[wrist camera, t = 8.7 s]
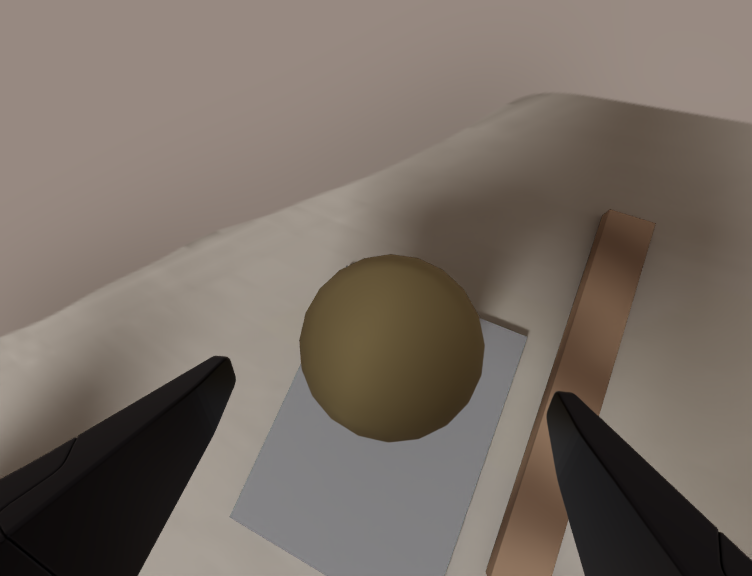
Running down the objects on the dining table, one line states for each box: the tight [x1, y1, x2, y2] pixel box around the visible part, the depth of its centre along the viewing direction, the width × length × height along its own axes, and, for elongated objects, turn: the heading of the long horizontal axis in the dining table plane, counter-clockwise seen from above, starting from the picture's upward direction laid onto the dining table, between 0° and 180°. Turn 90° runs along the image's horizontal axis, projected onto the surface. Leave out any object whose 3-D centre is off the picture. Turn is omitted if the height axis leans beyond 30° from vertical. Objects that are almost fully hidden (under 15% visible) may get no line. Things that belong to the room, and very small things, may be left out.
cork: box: [299, 254, 485, 443], centre depth 13 cm, size 6×6×11 cm
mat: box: [230, 266, 527, 576], centre depth 18 cm, size 15×11×1 cm
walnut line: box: [486, 209, 656, 576], centre depth 17 cm, size 20×2×1 cm, turn 156°
